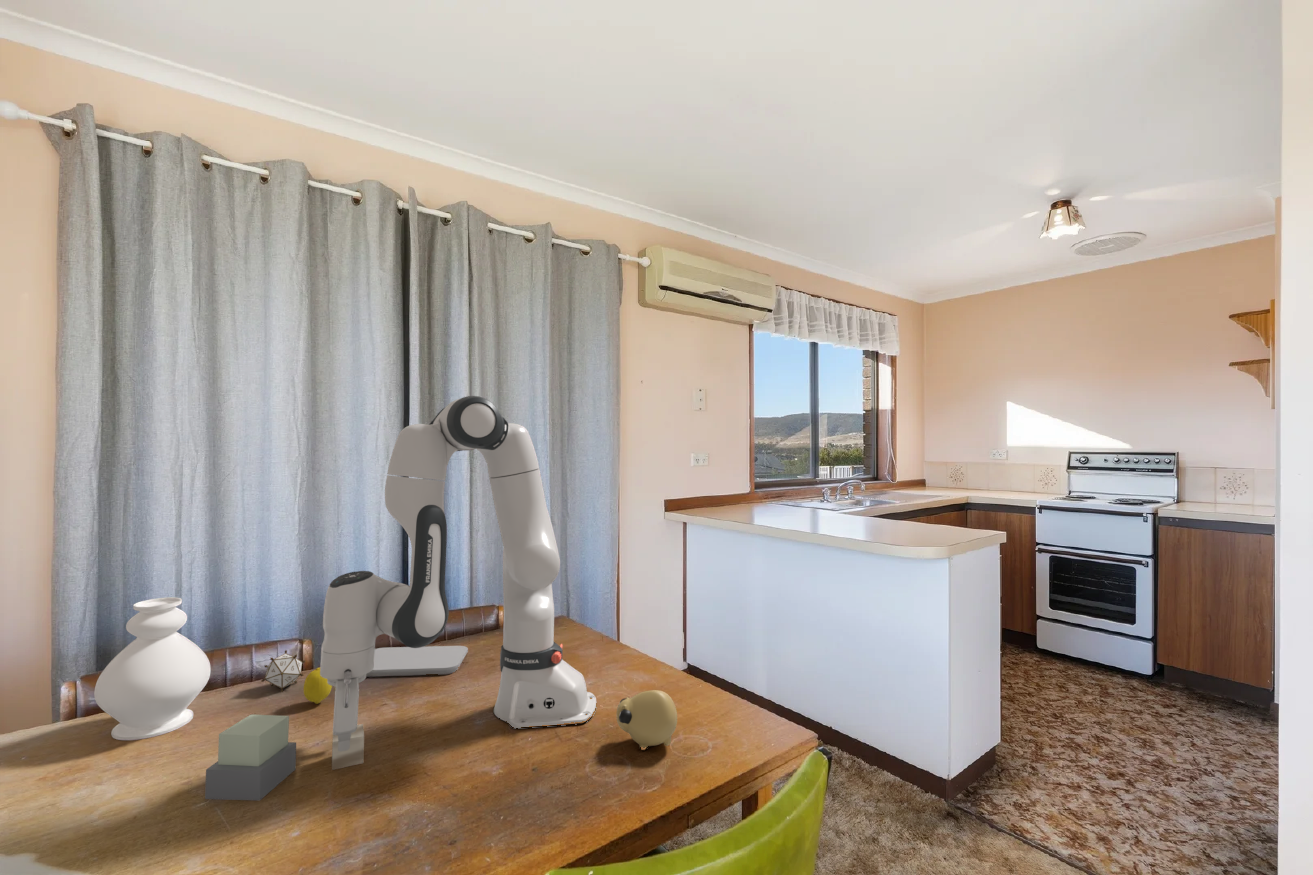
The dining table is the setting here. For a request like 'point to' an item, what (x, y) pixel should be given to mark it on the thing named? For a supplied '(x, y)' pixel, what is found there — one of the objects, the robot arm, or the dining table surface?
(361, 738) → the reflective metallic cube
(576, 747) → the dining table surface
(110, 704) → the decorative vase
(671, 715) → the toy pig
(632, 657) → the dining table surface
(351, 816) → the dining table surface
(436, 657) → the tablet
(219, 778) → the charcoal base block
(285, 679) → the game die
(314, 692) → the lemon
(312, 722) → the dining table surface
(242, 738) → the sage top block
